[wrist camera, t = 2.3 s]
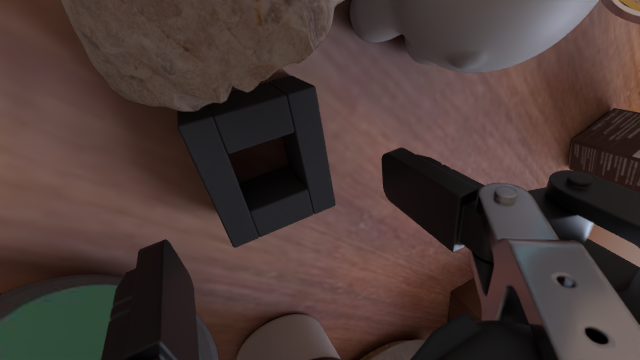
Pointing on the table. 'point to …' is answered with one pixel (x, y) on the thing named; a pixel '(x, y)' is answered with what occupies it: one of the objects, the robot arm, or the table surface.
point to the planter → (395, 350)
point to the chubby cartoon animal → (469, 29)
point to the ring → (624, 9)
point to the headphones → (66, 319)
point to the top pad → (252, 129)
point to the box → (610, 149)
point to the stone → (195, 44)
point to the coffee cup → (289, 341)
